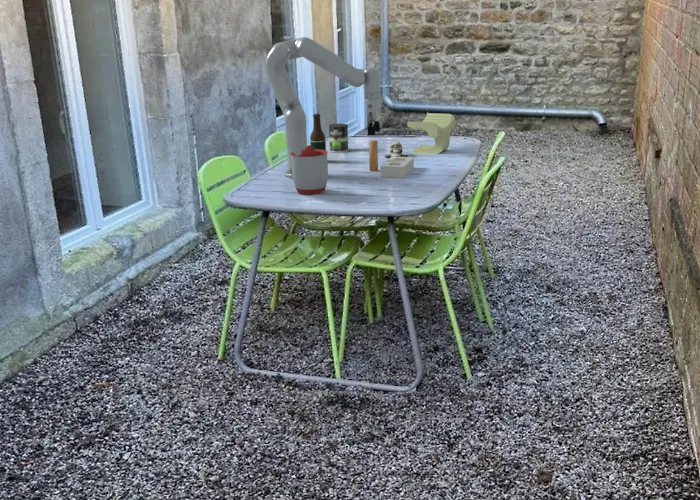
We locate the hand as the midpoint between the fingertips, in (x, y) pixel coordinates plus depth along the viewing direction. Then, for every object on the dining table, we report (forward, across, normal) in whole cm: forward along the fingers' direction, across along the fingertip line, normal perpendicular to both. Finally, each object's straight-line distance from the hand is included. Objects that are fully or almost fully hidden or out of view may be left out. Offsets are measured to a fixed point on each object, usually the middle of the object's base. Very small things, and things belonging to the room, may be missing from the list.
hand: (373, 133), depth 337 cm
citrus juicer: (+17, -44, +18) cm, 51 cm away
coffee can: (+18, +45, +32) cm, 58 cm away
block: (+18, -2, -11) cm, 21 cm away
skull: (+18, +34, -2) cm, 38 cm away
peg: (+18, 0, +1) cm, 18 cm away
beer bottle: (+18, +16, +34) cm, 41 cm away
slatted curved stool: (+19, +50, -18) cm, 56 cm away
